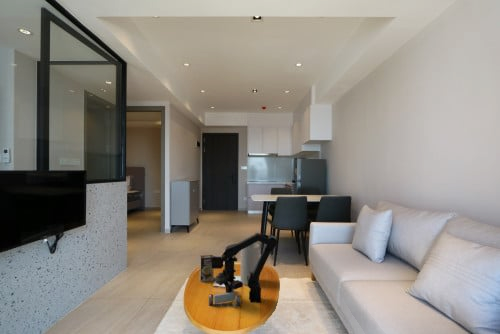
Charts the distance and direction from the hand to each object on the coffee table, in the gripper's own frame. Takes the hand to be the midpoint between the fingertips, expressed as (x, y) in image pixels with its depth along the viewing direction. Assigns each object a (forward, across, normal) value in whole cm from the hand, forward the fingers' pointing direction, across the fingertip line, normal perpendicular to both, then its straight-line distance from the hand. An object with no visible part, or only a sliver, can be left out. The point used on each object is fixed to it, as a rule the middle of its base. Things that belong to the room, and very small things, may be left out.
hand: (228, 294), depth 162 cm
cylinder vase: (+4, -12, +26) cm, 29 cm away
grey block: (+3, +1, -3) cm, 4 cm away
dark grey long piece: (+3, +4, -5) cm, 7 cm away
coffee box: (+4, -34, +6) cm, 35 cm away
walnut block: (+4, -8, +6) cm, 11 cm away
